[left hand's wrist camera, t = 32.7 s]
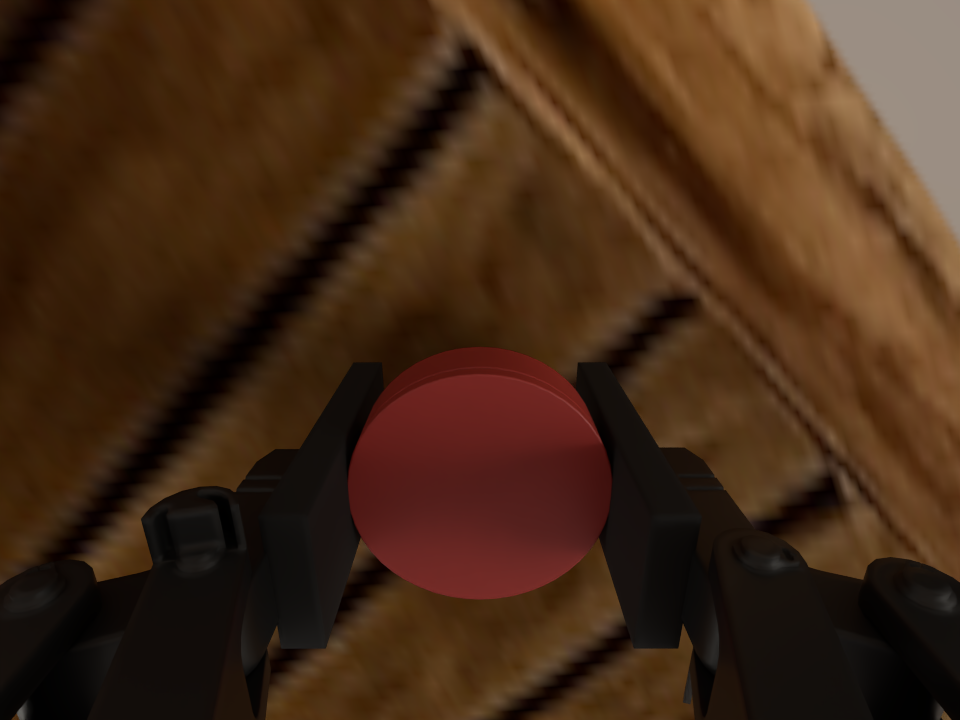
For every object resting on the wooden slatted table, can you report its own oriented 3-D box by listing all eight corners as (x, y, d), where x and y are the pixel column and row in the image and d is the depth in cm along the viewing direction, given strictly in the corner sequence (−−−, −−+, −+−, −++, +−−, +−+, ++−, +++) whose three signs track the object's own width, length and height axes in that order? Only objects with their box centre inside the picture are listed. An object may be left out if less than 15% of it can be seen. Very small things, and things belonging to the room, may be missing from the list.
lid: (588, 330, 11) (605, 356, 9) (603, 536, 13) (619, 585, 11) (338, 363, 11) (316, 394, 10) (388, 561, 13) (377, 611, 12)
